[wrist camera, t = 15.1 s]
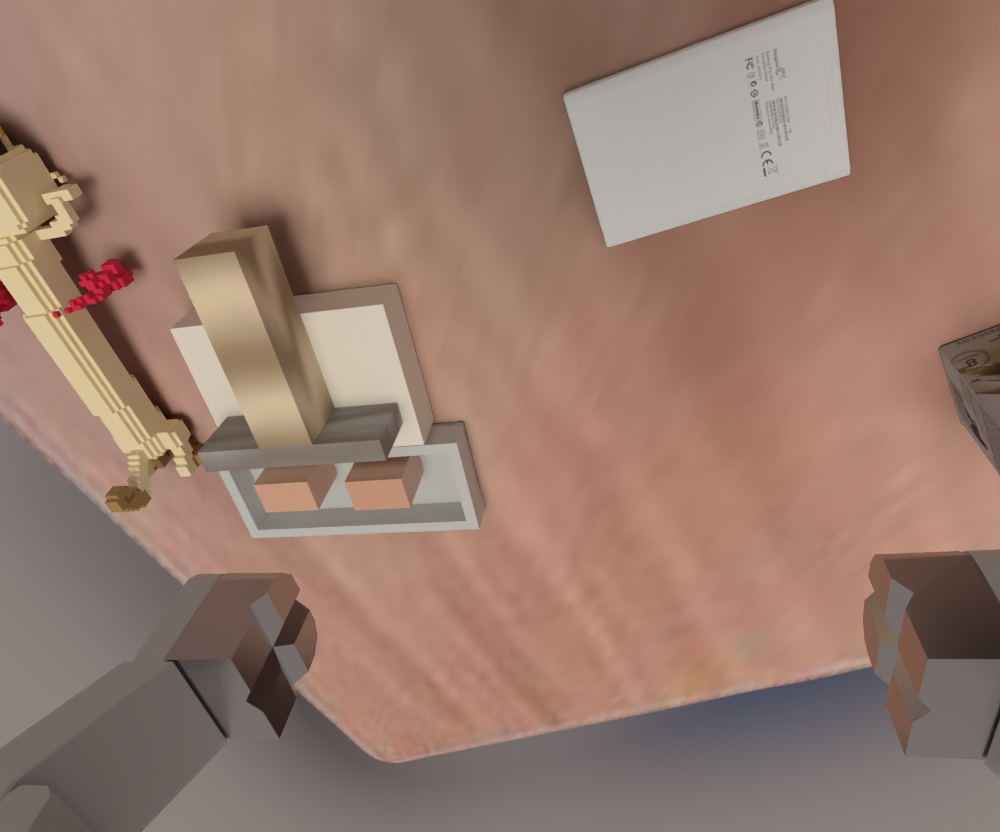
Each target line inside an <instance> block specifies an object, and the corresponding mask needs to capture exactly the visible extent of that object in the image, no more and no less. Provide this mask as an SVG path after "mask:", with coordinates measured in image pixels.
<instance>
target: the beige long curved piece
mask: <svg viewBox="0 0 1000 832" xmlns="http://www.w3.org/2000/svg"><path fill="white" fill-rule="evenodd" d="M55 178H58V180H59V182H60V183H63V182H66V181H68V180H67V178H66V177H65V175H64V176H60V175H59V173H58V171H56V172H51V173H49V171H48V170H47V168H46V166H45V165H44V163H43V162H42V160H41V158H40V157H39V155H38V153H37V152H35V153H33V152H32V151H31V149H29V148H26V149H25V147H24V146H23V145H22V144H21V145H16V146H13V145H12V143H11V142H10V140H9V139H8V137H7V135H6V134H5V133H4V131H3V129H2V128H1V126H0V312H5V311H9V310H10V309H11V308H13V307H14V306H15V305H17V303H18V305H19V306H20V307H21V309H22V310H23V311H24V314H22V316H23V318H24V320H25V321H26V323H27V324H28V325H29V327H30V328H31V330H32V331H33V332H34V334H35V335H36V337H37V338H38V339H39V341H40V342H41V343H42V345H43V346H44V348H45V349H46V350H47V352H48V353H49V354H50V356H51V357H52V359H53V360H54V361H55V363H56V364H57V366H58V367H59V368H60V370H61V371H62V372H63V374H64V375H65V377H66V378H67V379H68V381H69V382H70V383H71V385H72V386H73V388H74V389H75V390H76V392H77V393H78V395H79V396H80V397H81V399H82V400H83V401H84V403H85V404H86V406H87V407H88V408H89V410H90V411H91V412H92V414H93V415H94V416H99V417H100V419H101V420H102V421H103V423H104V424H105V425H106V427H107V428H108V430H109V431H110V432H111V434H112V435H113V439H114V441H115V442H116V443H117V445H118V446H119V448H120V449H121V450H122V452H123V453H128V455H127V457H128V458H129V460H128V462H127V463H128V464H129V466H128V468H127V469H128V470H129V472H128V474H127V475H128V477H129V479H128V480H127V481H128V483H129V485H128V486H115V487H112V488H111V489H110V490H109V492H108V493H107V494H106V496H105V497H106V498H107V501H106V502H105V504H106V505H107V506H108V507H109V509H110V510H111V511H112V512H129V511H138V510H139V509H140V508H145V507H146V505H147V504H148V502H149V501H150V500H151V497H150V493H151V491H150V487H151V485H150V481H151V479H150V478H151V476H152V475H153V474H154V472H155V471H156V470H157V468H164V467H165V466H166V465H167V463H168V462H169V461H170V458H169V457H168V455H167V454H166V451H167V450H168V449H171V451H172V452H173V454H174V455H175V456H174V458H173V460H174V461H175V463H176V464H177V465H176V467H175V469H176V470H177V471H178V473H179V474H180V476H181V477H184V476H192V475H193V473H194V472H195V470H196V469H197V467H198V466H199V465H201V464H203V463H202V461H201V459H200V457H199V456H198V454H197V453H198V451H199V450H200V449H201V448H202V446H203V445H202V444H193V445H190V444H189V442H188V439H189V437H190V435H191V433H190V432H189V430H188V429H187V427H186V425H185V424H184V422H183V421H182V419H180V420H178V419H170V420H166V418H165V417H164V415H163V414H162V412H161V410H160V409H159V408H158V406H153V404H152V403H151V401H150V400H149V398H148V396H147V395H146V393H145V392H144V390H143V389H142V387H141V386H140V384H139V383H138V381H137V380H136V378H135V377H134V375H133V374H129V373H128V372H127V370H126V369H125V367H124V366H123V364H122V363H121V361H120V360H119V358H118V357H117V355H116V354H115V352H114V351H113V349H112V347H111V346H110V344H109V343H108V341H107V340H106V338H105V337H104V335H103V334H102V332H101V331H100V329H99V328H98V326H97V325H96V323H95V322H94V320H93V318H92V317H91V315H90V314H89V312H88V311H87V309H86V308H85V307H86V306H87V305H90V304H97V303H98V302H99V301H103V300H105V299H106V298H107V297H108V296H109V295H111V294H112V291H115V290H120V289H121V288H122V287H127V286H128V285H129V284H130V283H131V282H132V281H133V280H134V279H133V277H132V275H134V274H133V272H132V271H131V270H128V269H127V270H126V268H125V266H124V267H122V265H121V263H120V262H119V260H118V259H117V258H115V259H109V260H107V261H106V262H105V263H104V264H102V265H101V266H100V267H101V269H102V270H103V271H100V272H98V273H95V271H94V270H93V269H92V270H88V271H87V272H85V273H81V274H80V275H78V276H79V277H80V279H81V281H80V282H78V283H79V284H80V286H81V287H85V286H86V288H87V289H88V291H89V293H85V294H84V295H83V296H82V295H81V293H80V292H79V290H78V289H77V287H76V286H75V284H74V283H73V281H72V280H71V278H70V276H69V275H68V273H67V272H66V270H65V269H64V267H63V266H62V264H61V263H60V261H61V260H62V257H61V256H60V254H59V253H58V251H57V250H56V248H55V246H54V245H53V243H52V242H51V240H50V239H52V238H57V237H63V236H67V235H69V234H70V233H72V232H73V231H72V229H74V228H75V227H77V226H78V223H77V221H78V220H80V219H79V217H78V215H77V214H76V212H75V210H74V209H73V207H72V205H71V204H70V202H69V201H70V200H74V199H75V198H77V197H79V196H80V195H82V194H83V193H82V191H81V190H80V188H79V186H78V185H77V184H66V185H62V186H60V187H58V186H57V185H56V183H55V181H54V180H53V179H55ZM57 213H58V214H57ZM56 214H57V215H56ZM54 215H56V216H55V218H56V219H54V220H52V221H51V222H49V224H50V225H47V226H41V225H40V224H42V223H43V222H45V221H46V220H48V219H50V218H51V217H53V216H54ZM1 318H2V317H1V316H0V326H2V325H3V324H4V323H3V322H2V321H1Z"/></svg>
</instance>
